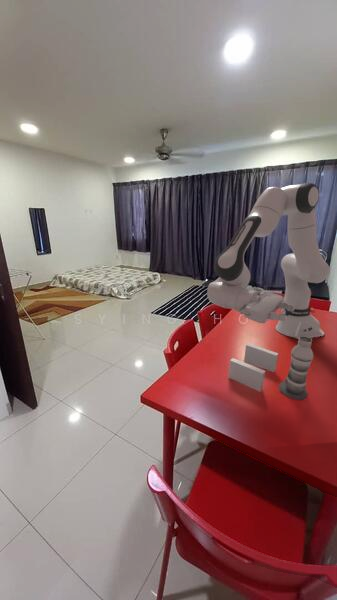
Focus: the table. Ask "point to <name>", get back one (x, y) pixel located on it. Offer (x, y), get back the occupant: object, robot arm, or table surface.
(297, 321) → the robot arm
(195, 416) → the table surface
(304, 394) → the mat
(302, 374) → the plastic bottle
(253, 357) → the guide channel
